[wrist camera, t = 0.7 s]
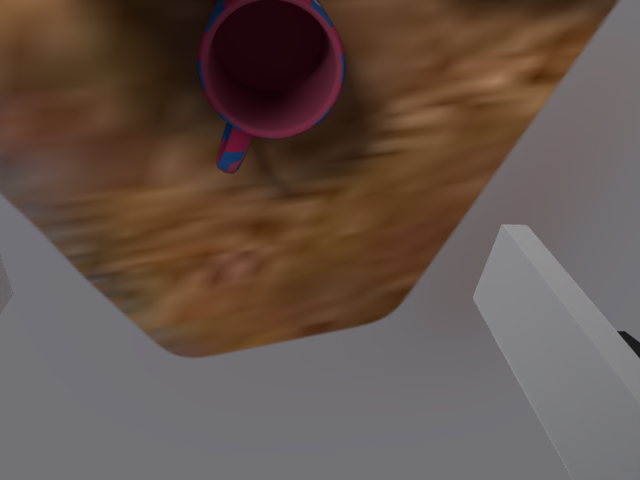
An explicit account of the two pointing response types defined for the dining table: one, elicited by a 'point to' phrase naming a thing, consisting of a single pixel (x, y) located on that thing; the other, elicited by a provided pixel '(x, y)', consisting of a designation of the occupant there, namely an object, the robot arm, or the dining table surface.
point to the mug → (268, 70)
